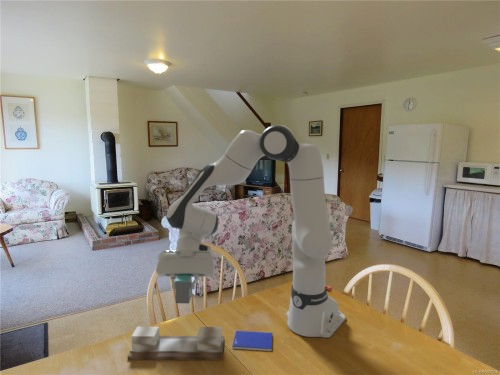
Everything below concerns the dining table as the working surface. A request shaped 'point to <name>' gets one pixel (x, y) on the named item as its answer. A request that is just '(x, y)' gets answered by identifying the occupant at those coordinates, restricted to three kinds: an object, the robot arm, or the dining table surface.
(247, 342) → the hard drive
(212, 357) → the board
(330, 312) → the robot arm
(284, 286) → the dining table surface
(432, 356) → the dining table surface
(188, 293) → the block
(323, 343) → the dining table surface
